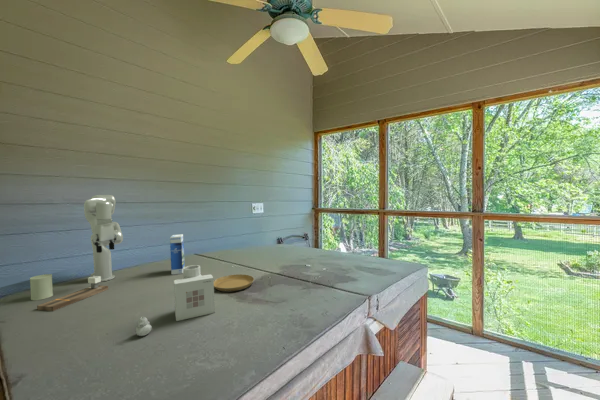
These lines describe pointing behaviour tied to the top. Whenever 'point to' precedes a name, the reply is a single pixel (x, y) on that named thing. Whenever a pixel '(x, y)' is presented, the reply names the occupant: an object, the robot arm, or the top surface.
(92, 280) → the fader knob
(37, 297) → the can
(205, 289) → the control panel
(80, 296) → the fader console
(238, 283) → the plant saucer
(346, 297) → the top surface
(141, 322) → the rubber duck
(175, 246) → the string lights box
